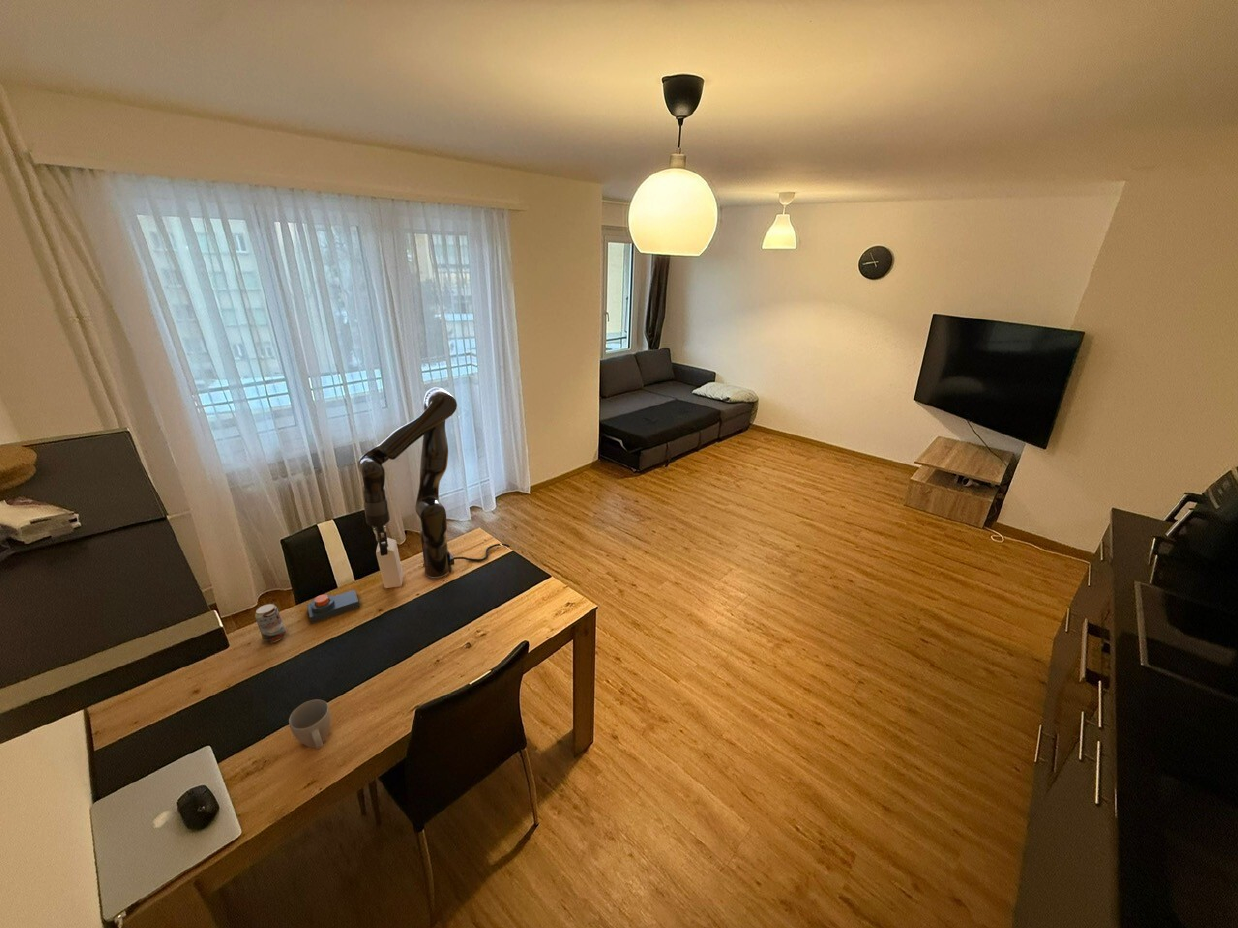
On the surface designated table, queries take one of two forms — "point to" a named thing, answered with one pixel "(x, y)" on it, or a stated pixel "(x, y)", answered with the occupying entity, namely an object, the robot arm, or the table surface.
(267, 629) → the beverage can
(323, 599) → the release button
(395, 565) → the milk
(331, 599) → the button base
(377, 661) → the table surface
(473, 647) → the table surface
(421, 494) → the robot arm
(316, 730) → the mug
